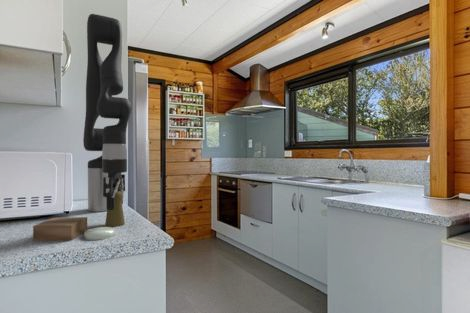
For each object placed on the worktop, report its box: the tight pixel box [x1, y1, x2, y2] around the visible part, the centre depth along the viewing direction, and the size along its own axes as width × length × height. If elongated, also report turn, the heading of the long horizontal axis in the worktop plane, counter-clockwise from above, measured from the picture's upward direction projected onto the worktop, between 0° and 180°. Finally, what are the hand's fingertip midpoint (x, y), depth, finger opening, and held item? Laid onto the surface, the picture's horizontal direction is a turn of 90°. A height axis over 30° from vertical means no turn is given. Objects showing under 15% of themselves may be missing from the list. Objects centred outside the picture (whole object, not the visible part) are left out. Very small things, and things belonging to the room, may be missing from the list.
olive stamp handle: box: [104, 191, 126, 228], centre depth 98 cm, size 6×6×11 cm
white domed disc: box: [83, 226, 116, 241], centre depth 86 cm, size 8×8×2 cm
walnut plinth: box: [32, 216, 88, 242], centre depth 86 cm, size 10×10×4 cm
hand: (115, 207), depth 98 cm, fingers open, 8 cm apart
